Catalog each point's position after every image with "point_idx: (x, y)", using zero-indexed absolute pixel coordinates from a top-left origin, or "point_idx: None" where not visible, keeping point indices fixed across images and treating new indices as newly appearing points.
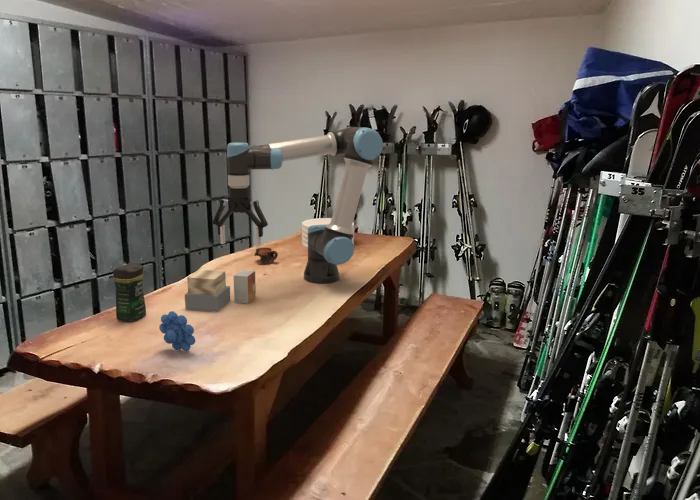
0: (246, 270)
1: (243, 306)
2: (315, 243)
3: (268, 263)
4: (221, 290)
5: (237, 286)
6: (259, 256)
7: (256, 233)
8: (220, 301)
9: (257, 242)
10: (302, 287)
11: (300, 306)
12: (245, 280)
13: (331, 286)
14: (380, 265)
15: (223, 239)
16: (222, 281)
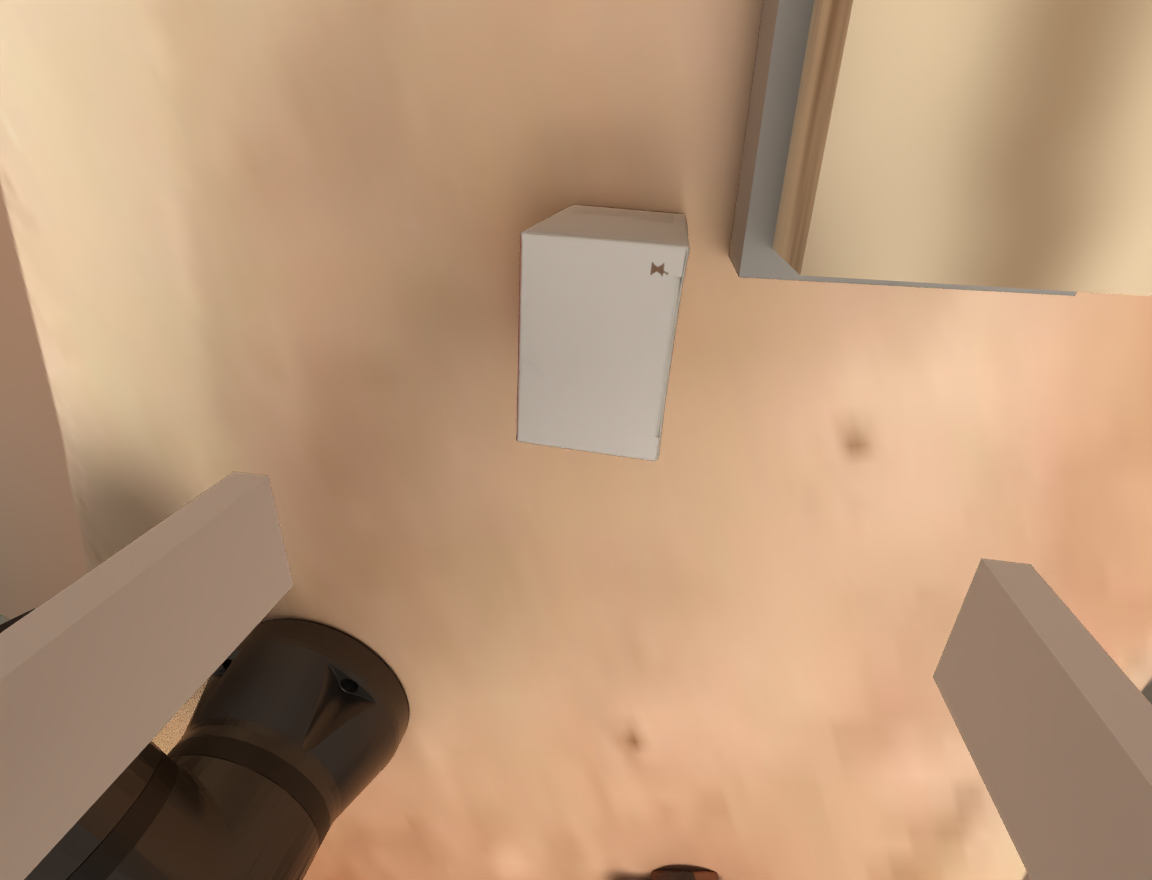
0: (601, 443)
1: (591, 138)
2: (92, 849)
3: (657, 875)
4: (793, 122)
5: (648, 225)
6: None
7: (10, 658)
8: (769, 5)
9: (192, 512)
10: (352, 555)
11: (217, 218)
12: (552, 224)
13: None
14: None
15: (1007, 674)
16: (802, 163)
